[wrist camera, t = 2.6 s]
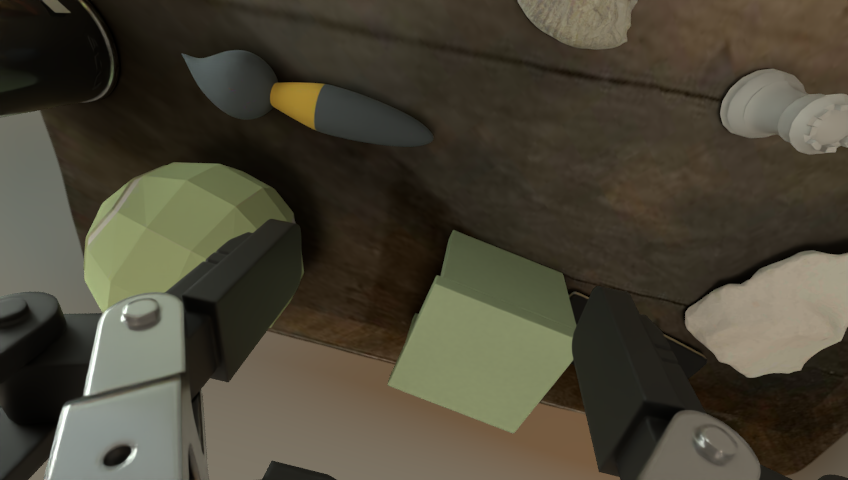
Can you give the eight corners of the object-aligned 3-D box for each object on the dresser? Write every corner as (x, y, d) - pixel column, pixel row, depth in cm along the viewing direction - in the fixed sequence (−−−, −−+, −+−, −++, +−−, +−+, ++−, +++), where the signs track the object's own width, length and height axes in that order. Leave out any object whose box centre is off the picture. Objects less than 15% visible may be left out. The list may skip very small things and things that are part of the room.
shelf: (407, 318, 42) (387, 385, 34) (448, 227, 36) (434, 283, 28) (510, 359, 43) (513, 434, 35) (568, 275, 37) (587, 343, 29)
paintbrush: (444, 87, 30) (435, 98, 26) (432, 149, 33) (422, 169, 29) (203, 36, 32) (156, 39, 27) (210, 100, 34) (168, 111, 30)
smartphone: (573, 293, 36) (711, 362, 37) (571, 286, 37) (706, 353, 38) (528, 344, 40) (656, 405, 41) (527, 336, 41) (652, 396, 42)
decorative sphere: (350, 196, 36) (268, 292, 23) (298, 302, 44) (214, 421, 31) (198, 111, 35) (20, 163, 22) (171, 236, 42) (26, 332, 29)
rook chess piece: (733, 65, 27) (814, 80, 20) (805, 70, 26) (914, 87, 19) (706, 131, 29) (771, 165, 22) (772, 137, 28) (860, 174, 22)
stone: (686, 350, 33) (873, 217, 26) (667, 318, 37) (826, 194, 30) (777, 408, 35) (977, 297, 28) (750, 372, 38) (920, 266, 31)
